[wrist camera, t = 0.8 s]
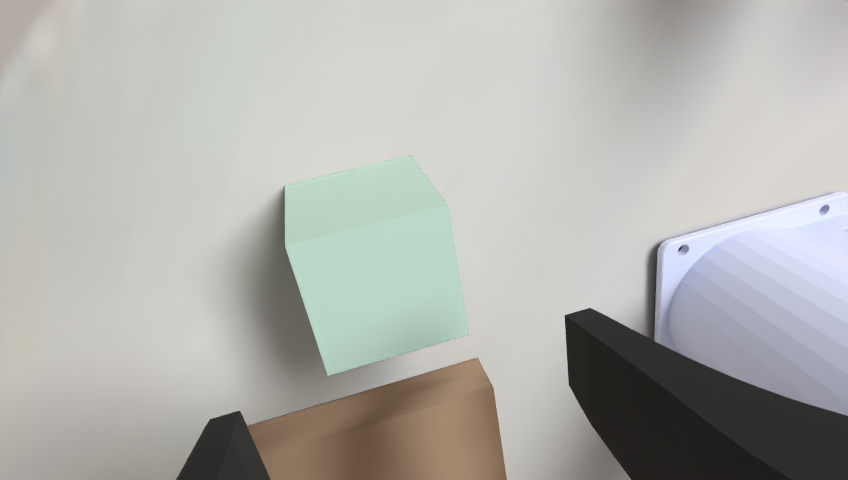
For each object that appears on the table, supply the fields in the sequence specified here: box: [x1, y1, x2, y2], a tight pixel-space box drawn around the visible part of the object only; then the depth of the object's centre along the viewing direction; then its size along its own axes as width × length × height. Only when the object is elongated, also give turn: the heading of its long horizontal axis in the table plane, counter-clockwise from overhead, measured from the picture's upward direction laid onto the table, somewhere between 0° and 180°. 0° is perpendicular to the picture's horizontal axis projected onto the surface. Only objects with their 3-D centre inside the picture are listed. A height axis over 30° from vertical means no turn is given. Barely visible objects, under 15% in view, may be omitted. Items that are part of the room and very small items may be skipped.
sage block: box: [285, 155, 469, 376], centre depth 18 cm, size 4×4×5 cm
